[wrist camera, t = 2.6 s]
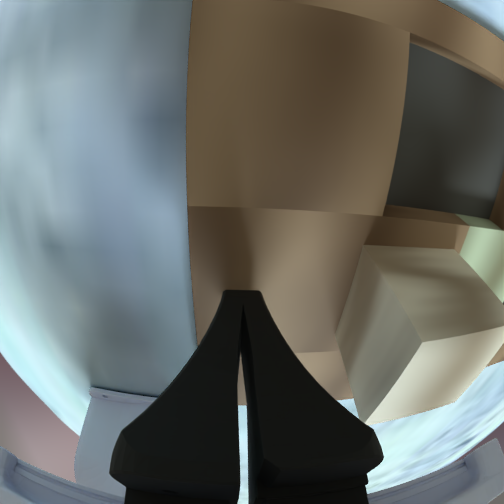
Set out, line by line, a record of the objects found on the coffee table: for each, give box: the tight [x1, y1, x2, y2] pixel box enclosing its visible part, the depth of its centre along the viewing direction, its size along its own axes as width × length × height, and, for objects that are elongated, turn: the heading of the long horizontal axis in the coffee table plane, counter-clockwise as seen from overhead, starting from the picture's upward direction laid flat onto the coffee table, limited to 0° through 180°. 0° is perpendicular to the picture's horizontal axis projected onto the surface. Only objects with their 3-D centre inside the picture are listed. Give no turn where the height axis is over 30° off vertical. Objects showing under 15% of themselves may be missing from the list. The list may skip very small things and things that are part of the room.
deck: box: [186, 0, 504, 405], centre depth 12 cm, size 28×22×2 cm
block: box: [335, 245, 504, 425], centre depth 10 cm, size 5×5×5 cm
